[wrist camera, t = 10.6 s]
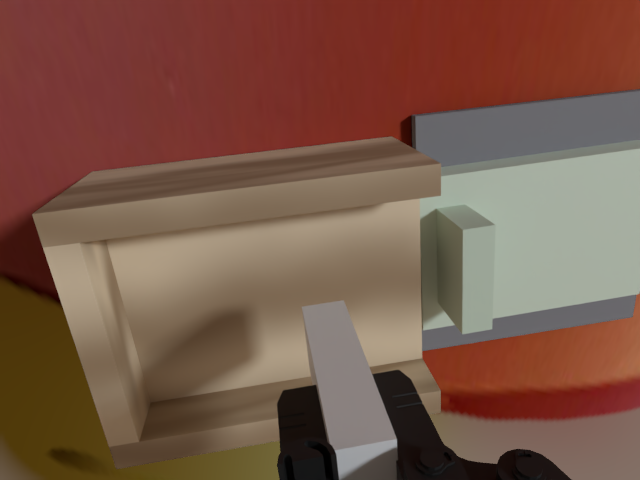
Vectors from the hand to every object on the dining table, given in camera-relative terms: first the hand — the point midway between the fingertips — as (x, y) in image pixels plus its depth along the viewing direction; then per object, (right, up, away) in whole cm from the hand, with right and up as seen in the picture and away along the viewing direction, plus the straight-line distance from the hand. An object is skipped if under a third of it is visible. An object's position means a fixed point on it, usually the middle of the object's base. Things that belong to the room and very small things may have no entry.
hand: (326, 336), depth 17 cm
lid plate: (+10, +4, +8) cm, 14 cm away
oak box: (-3, +2, +7) cm, 8 cm away
